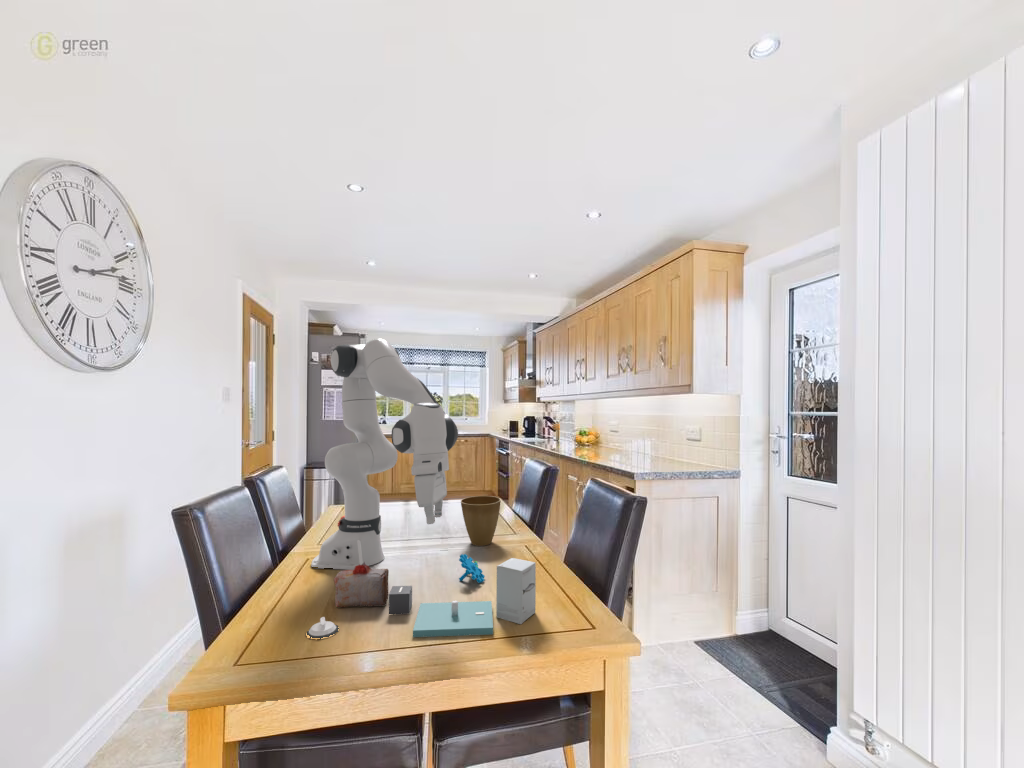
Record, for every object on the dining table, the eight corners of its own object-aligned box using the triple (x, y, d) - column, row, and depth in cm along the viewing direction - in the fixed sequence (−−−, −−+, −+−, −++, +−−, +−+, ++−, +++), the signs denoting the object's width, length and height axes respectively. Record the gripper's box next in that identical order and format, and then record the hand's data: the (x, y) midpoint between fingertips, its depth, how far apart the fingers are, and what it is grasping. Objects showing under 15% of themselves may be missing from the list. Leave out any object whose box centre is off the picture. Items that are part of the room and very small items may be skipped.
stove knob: (304, 644, 102) (305, 631, 102) (305, 629, 108) (305, 616, 109) (340, 637, 105) (340, 624, 105) (338, 623, 111) (338, 611, 111)
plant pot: (478, 534, 183) (478, 494, 183) (508, 541, 174) (508, 498, 175) (452, 544, 171) (452, 500, 171) (483, 552, 162) (483, 506, 163)
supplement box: (521, 625, 110) (521, 571, 110) (495, 617, 114) (495, 565, 114) (536, 613, 116) (536, 561, 116) (511, 606, 120) (511, 556, 120)
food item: (330, 610, 117) (330, 571, 118) (339, 597, 125) (339, 560, 126) (384, 608, 118) (385, 569, 119) (390, 595, 126) (391, 559, 127)
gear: (481, 583, 130) (458, 555, 133) (466, 598, 130) (443, 570, 133) (490, 574, 141) (468, 548, 144) (476, 588, 141) (455, 562, 144)
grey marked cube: (388, 614, 115) (388, 593, 115) (392, 605, 120) (392, 585, 120) (409, 614, 115) (409, 593, 116) (412, 605, 120) (412, 585, 121)
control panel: (412, 637, 104) (412, 616, 104) (420, 609, 118) (420, 591, 118) (493, 634, 105) (493, 614, 106) (491, 606, 119) (491, 589, 119)
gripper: (427, 463, 130) (431, 514, 128) (409, 468, 109) (412, 529, 108) (450, 461, 129) (453, 512, 128) (435, 466, 109) (439, 526, 107)
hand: (434, 520), depth 118 cm, fingers open, 8 cm apart
